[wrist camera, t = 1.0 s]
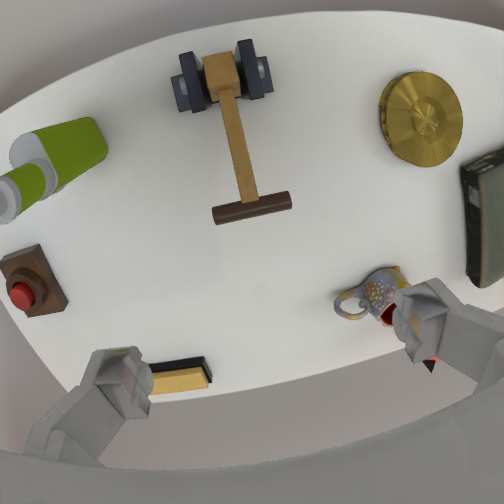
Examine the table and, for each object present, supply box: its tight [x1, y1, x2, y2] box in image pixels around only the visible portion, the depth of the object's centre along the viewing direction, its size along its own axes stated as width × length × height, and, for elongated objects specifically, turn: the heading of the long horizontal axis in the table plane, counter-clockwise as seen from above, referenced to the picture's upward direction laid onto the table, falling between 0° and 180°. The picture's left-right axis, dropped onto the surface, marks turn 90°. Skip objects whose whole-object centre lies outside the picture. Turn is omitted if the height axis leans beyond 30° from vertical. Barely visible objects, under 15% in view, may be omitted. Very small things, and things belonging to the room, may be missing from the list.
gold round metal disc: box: [379, 72, 463, 167], centre depth 32 cm, size 12×12×2 cm
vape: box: [0, 117, 108, 224], centre depth 22 cm, size 4×6×20 cm, turn 23°
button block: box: [0, 244, 69, 318], centre depth 37 cm, size 10×8×4 cm
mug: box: [334, 266, 412, 327], centre depth 41 cm, size 12×7×7 cm, turn 92°
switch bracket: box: [171, 39, 274, 113], centre depth 24 cm, size 4×10×13 cm, turn 101°
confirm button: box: [10, 282, 35, 311], centre depth 35 cm, size 4×4×2 cm
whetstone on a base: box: [148, 357, 212, 395], centre depth 47 cm, size 5×14×3 cm, turn 102°
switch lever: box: [202, 51, 292, 225], centre depth 20 cm, size 12×5×2 cm, turn 12°
